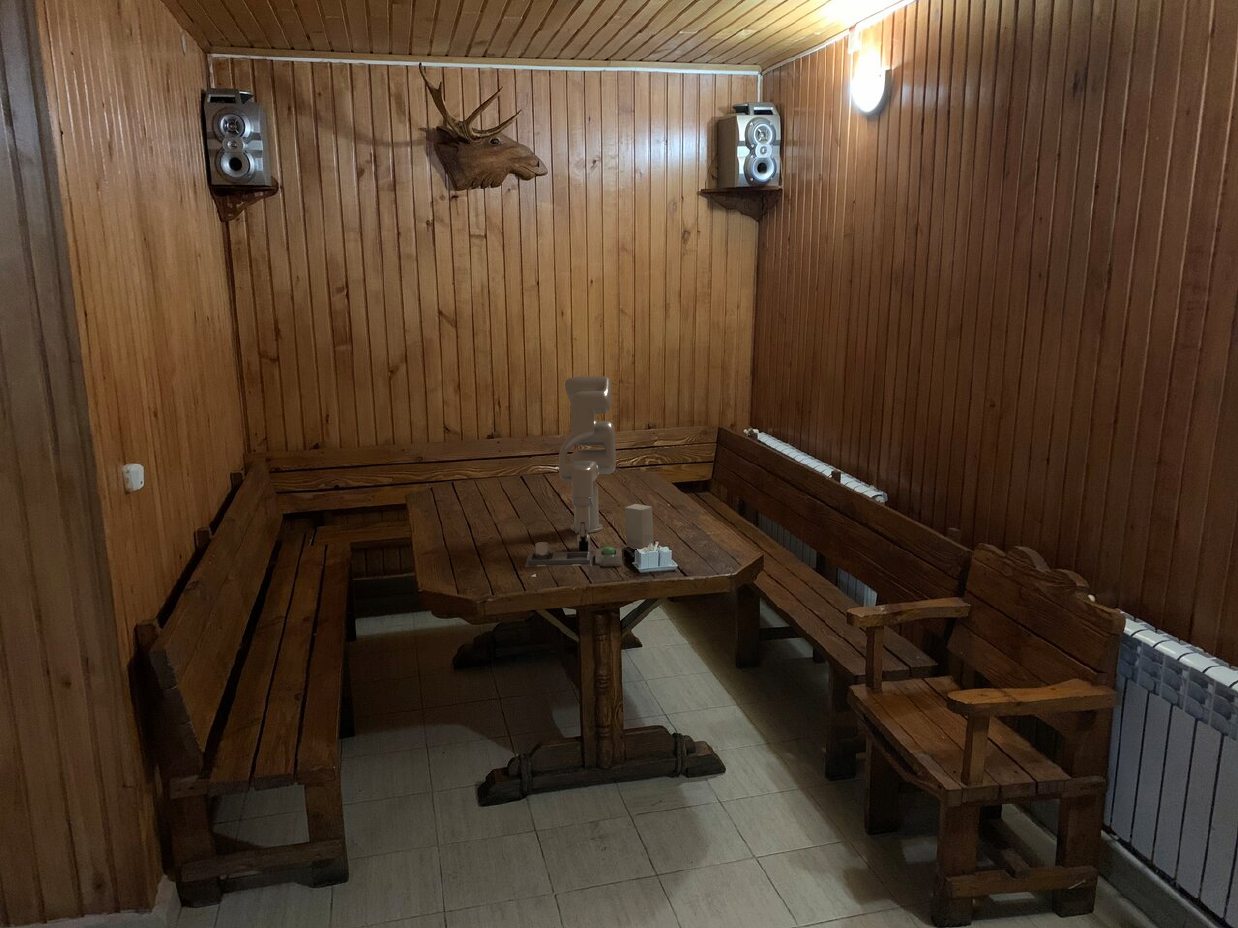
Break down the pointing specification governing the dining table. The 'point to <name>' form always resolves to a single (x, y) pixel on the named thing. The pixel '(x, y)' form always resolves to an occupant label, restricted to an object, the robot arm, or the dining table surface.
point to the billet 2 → (587, 540)
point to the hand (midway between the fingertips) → (584, 548)
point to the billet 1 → (542, 550)
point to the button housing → (609, 558)
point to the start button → (608, 551)
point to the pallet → (561, 559)
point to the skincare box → (638, 525)
